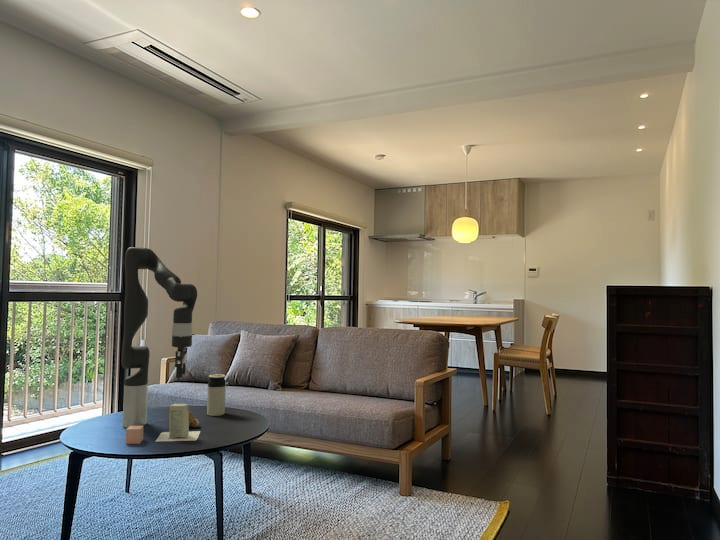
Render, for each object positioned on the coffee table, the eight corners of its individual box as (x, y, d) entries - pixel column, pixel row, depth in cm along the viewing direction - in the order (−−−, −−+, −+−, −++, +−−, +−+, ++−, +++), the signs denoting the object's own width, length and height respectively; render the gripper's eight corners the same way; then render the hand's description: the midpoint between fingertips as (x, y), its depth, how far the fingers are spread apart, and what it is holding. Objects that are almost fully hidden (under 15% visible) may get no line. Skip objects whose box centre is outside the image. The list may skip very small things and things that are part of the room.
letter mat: (161, 433, 212) (161, 432, 212) (200, 432, 214) (200, 431, 214) (155, 443, 199) (155, 441, 199) (196, 441, 202) (196, 440, 202)
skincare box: (188, 435, 208) (190, 403, 209) (183, 438, 204) (184, 406, 204) (173, 434, 209) (175, 402, 210) (168, 436, 205) (169, 405, 205)
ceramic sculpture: (195, 401, 231) (201, 411, 218) (195, 421, 231) (200, 432, 218) (170, 404, 227) (173, 413, 213) (169, 424, 227) (173, 435, 213)
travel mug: (218, 416, 241) (220, 377, 242) (203, 415, 243) (204, 376, 244) (227, 413, 249) (229, 374, 249) (213, 411, 251) (214, 373, 251)
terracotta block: (129, 441, 200) (129, 425, 200) (143, 441, 201) (143, 425, 201) (125, 445, 195) (126, 429, 195) (139, 445, 196) (140, 429, 196)
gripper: (175, 332, 214) (173, 373, 214) (169, 336, 200) (167, 379, 200) (194, 333, 216) (193, 372, 215) (189, 336, 202) (188, 378, 201)
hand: (180, 375), depth 207 cm, fingers open, 8 cm apart
